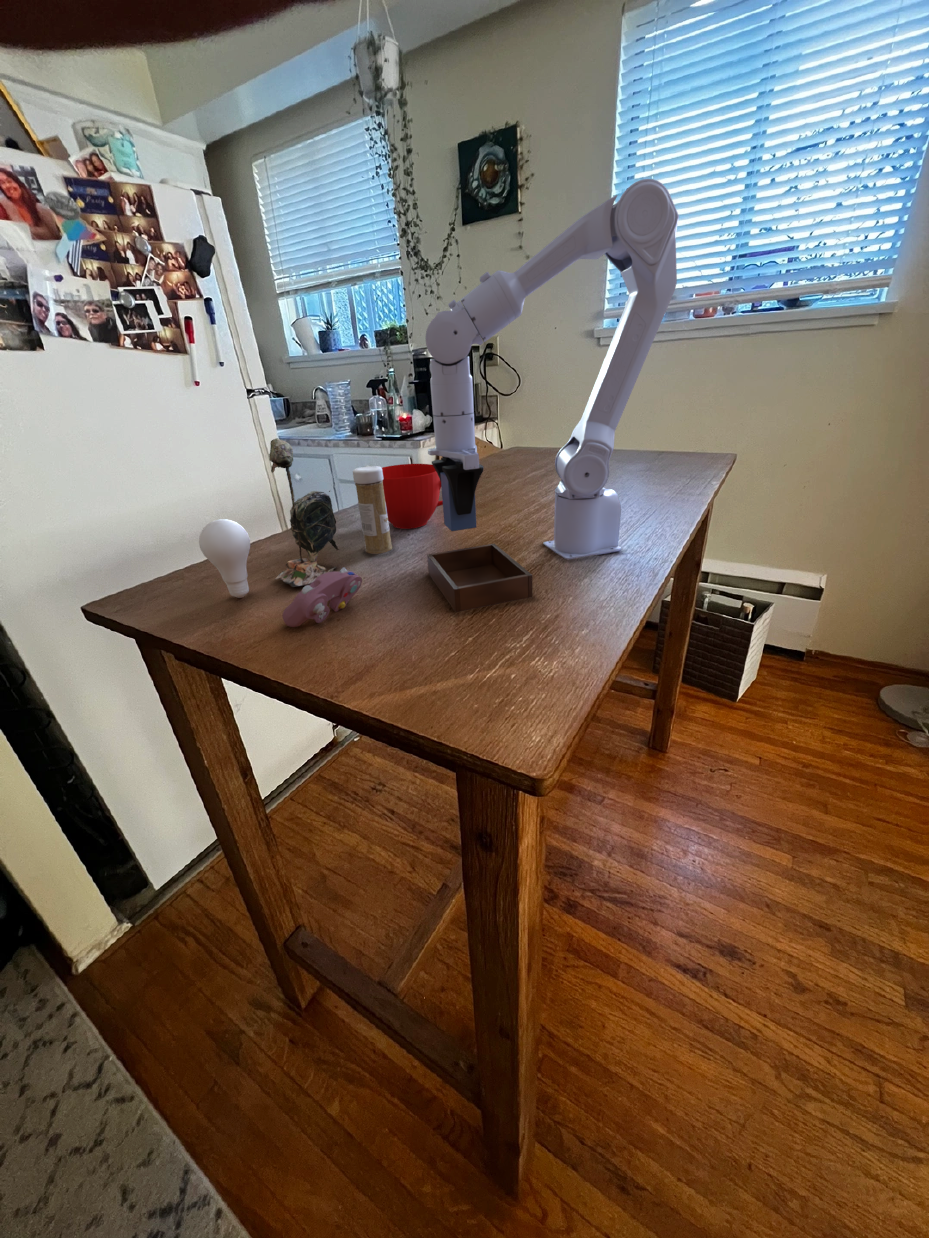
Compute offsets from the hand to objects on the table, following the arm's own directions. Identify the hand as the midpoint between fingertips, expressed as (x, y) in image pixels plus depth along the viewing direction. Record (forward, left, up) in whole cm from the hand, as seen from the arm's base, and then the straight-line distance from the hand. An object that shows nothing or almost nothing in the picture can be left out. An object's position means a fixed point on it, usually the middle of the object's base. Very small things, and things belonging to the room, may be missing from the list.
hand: (459, 510), depth 76 cm
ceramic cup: (+2, -20, -7) cm, 21 cm away
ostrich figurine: (+23, -2, -7) cm, 24 cm away
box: (+2, +13, -7) cm, 15 cm away
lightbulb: (+33, +2, -7) cm, 34 cm away
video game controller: (+22, +13, -7) cm, 27 cm away
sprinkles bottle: (+12, -8, -7) cm, 16 cm away
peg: (0, 0, -2) cm, 2 cm away
